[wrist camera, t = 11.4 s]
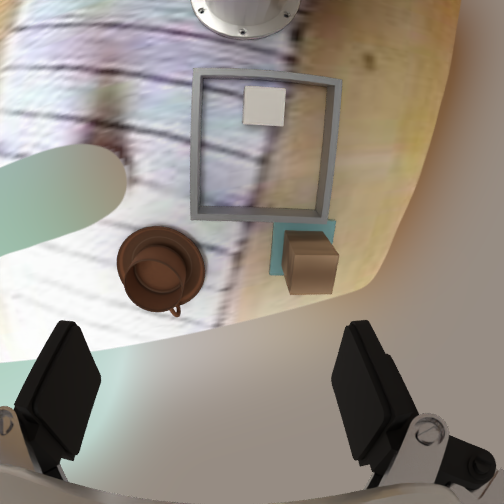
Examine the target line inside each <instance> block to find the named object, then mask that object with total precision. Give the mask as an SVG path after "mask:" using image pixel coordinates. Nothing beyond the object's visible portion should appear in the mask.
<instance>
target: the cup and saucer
mask: <svg viewBox="0 0 504 504" xmlns="http://www.w3.org/2000/svg"><path fill="white" fill-rule="evenodd" d="M117 270H118V274H119V277H120V279H121V281H122V283H123V285H124V288H125V291H126V293H127V295H128V297H129V298H130V299H131V301H132V302H133V303H135V304H136V305H137V306H139V307H140V308H142V309H144V310H147V311H151V312H164V311H168V310H170V312H171V313H172V314H173V316H175V317H179V316H180V314H181V310H180V305H183V304H185V303H187V302H188V301H190V300H191V299H193V298H194V297H195V296H196V295H197V294H198V292H199V291H200V289H201V287H202V285H203V282H204V277H205V267H204V262H203V258H202V256H201V254H200V252H199V250H198V248H197V247H196V246H195V244H194V243H193V242H192V241H191V240H190V239H189V238H187V237H186V236H185V235H183V234H182V233H180V232H178V231H176V230H173V229H171V228H167V227H160V226H152V227H146V228H143V229H140V230H138V231H136V232H134V233H132V234H131V235H130V236H128V237H127V238H126V239H125V241H124V242H123V243H122V245H121V247H120V249H119V252H118V255H117ZM174 307H176V309H177V312H175V310H174V309H173V308H174Z"/></svg>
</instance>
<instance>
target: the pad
mask: <svg viewBox="0 0 504 504" xmlns="http://www.w3.org/2000/svg"><path fill="white" fill-rule="evenodd" d="M335 225H336V221H335V220H329V219H328V221H327V224H306V223H280V222H274V224H273V235H272V247H271V258H270V270H269V274H270V275H284V273H283V269H282V266H281V264H282V254H283V243H284V233H285V230H296V231H323V232H324V234H325V235H326V237H327V238H328V240H329V241H330V243H331V244H332V243H333V237H334V231H335Z"/></svg>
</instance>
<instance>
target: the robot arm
mask: <svg viewBox="0 0 504 504" xmlns="http://www.w3.org/2000/svg"><path fill="white" fill-rule="evenodd" d="M190 1H191V4H192V8H193V10H194V13H195V15H196V16H197V17H198V19H199V20H200V22H202V23H203V24H204V25H205V26H206V27H207V28H209V29H210V30H212V31H213V32H215V33H217V34H220V35H222V36H225V37H229V38H233V39H243V40H247V39H258V38H262V37H266V36H269V35H271V34H274V33H276V32H278V31H279V30H281V29H283V28H284V27H285V26H286V25H287V24H288V23H290V22H291V20H292V19H293V18H294V16H295V14H296V13H297V11H298V9H299V5H300V2H301V0H190ZM202 11H204V14H200V13H201V12H202ZM284 15H287V16H288V18H286V17H284ZM241 32H245V34H244V35H242V34H241ZM331 381H332V386H333V389H334V393H335V396H336V399H337V403H338V406H339V409H340V413H341V417H342V420H343V424H344V427H345V431H346V434H347V438H348V441H349V445H350V449H351V452H352V456H353V458H354V460H358V461H359V465H360V466H364V465H368V464H370V467H371V470H372V472H373V474H372V475H371V477H370V479H369V481H368V483H367V484H366V486H365V488H364V490H360V491H356V492H351V493H347V494H341V495H335V496H329V497H323V498H315V499H308V500H301V501H292V502H283V503H272V504H504V470H503V469H501V468H500V469H499V470H497V469H496V463H495V459H494V457H493V455H492V454H491V453H490V452H488V451H487V450H485V449H482V448H480V447H477V446H475V445H472V444H469V443H467V442H465V441H462V440H460V439H457V438H455V437H453V436H450V435H449V429H448V426H447V424H446V422H445V421H444V420H443V419H442V418H441V417H439V416H437V415H435V414H431V413H423V414H421V415H419V413H418V411H417V409H416V407H415V404H414V402H413V400H412V398H411V396H410V394H409V392H408V390H407V387H406V386H405V383H404V382H403V379H402V377H401V375H400V373H399V371H398V369H397V367H396V365H395V363H394V361H393V359H392V358H391V356H390V355H388V354H385V352H384V350H383V348H382V346H381V344H380V342H379V340H378V338H377V336H376V334H375V332H374V330H373V328H372V327H371V325H370V323H369V321H368V320H361V321H352V322H351V323H350V325H349V326H346V327H345V330H344V334H343V338H342V342H341V345H340V348H339V352H338V356H337V359H336V363H335V366H334V370H333V373H332V377H331ZM100 383H101V375H100V373H99V370H98V368H97V366H96V364H95V362H94V359H93V357H92V355H91V353H90V350H89V348H88V346H87V343H86V341H85V338H84V336H83V333H82V331H81V328H80V327H79V326H77V325H76V323H75V322H73V321H63V320H61V321H59V322H58V323H57V325H56V327H55V328H54V330H53V332H52V333H51V335H50V337H49V339H48V340H47V342H46V344H45V345H44V347H43V349H42V351H41V353H40V354H39V356H38V358H37V360H36V362H35V364H34V365H33V367H32V369H31V371H30V373H29V375H28V377H27V379H26V381H25V383H24V385H23V387H22V389H21V391H20V393H19V395H18V397H17V399H16V401H15V403H14V405H15V408H14V410H13V409H12V408H10V407H8V406H1V407H0V504H188V503H176V502H166V501H158V500H150V499H143V498H137V497H131V496H125V495H120V494H115V493H110V492H105V491H101V490H97V489H92V488H88V487H85V486H81V485H77V484H73V483H70V482H68V480H67V478H66V476H65V474H64V472H63V470H62V468H61V465H60V460H61V458H64V459H67V460H71V461H74V457H75V455H77V454H78V453H79V451H80V447H81V444H82V440H83V437H84V434H85V430H86V427H87V424H88V420H89V417H90V414H91V410H92V408H93V404H94V401H95V398H96V395H97V392H98V389H99V386H100ZM269 504H271V503H269Z"/></svg>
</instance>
